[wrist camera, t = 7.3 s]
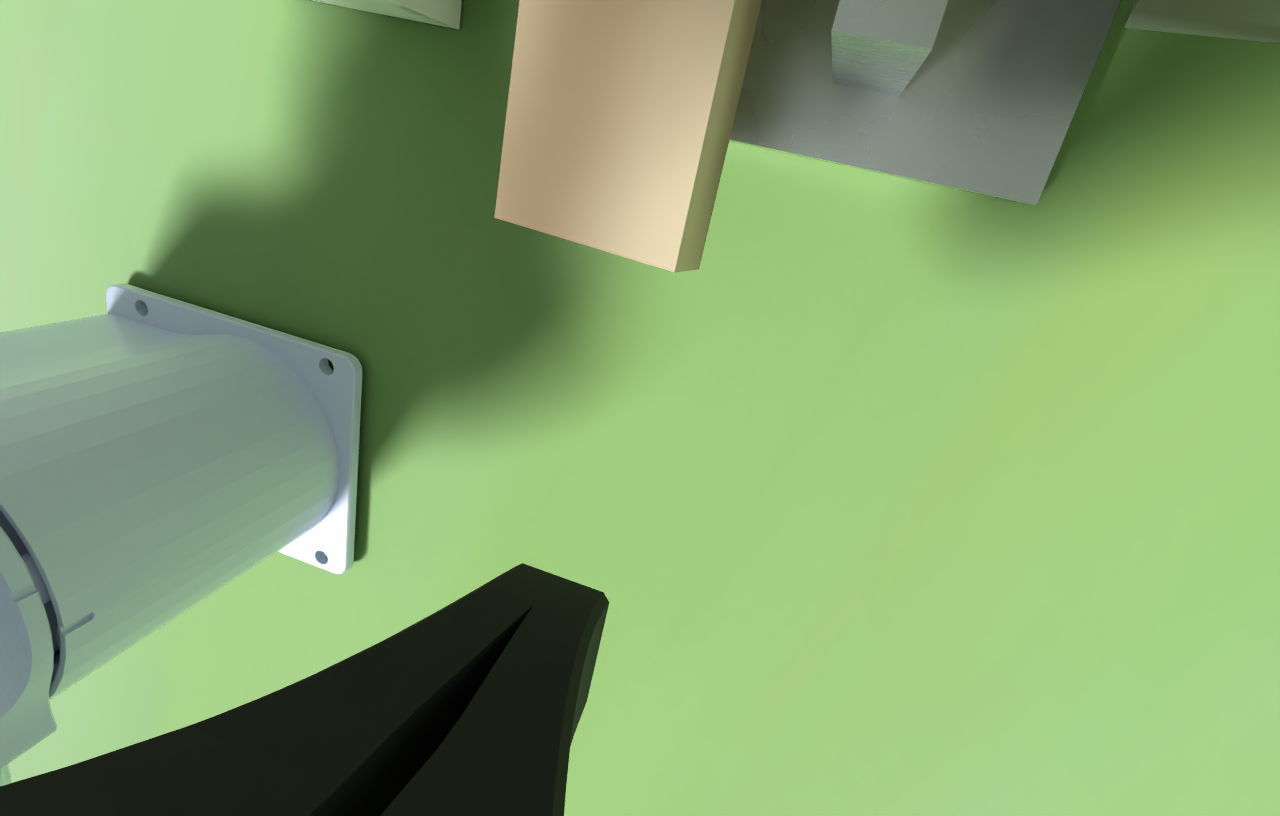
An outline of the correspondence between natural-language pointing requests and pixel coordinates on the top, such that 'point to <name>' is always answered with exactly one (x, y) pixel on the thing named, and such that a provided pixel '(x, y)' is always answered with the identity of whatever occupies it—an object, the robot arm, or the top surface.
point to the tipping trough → (674, 112)
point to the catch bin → (409, 9)
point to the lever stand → (923, 86)
